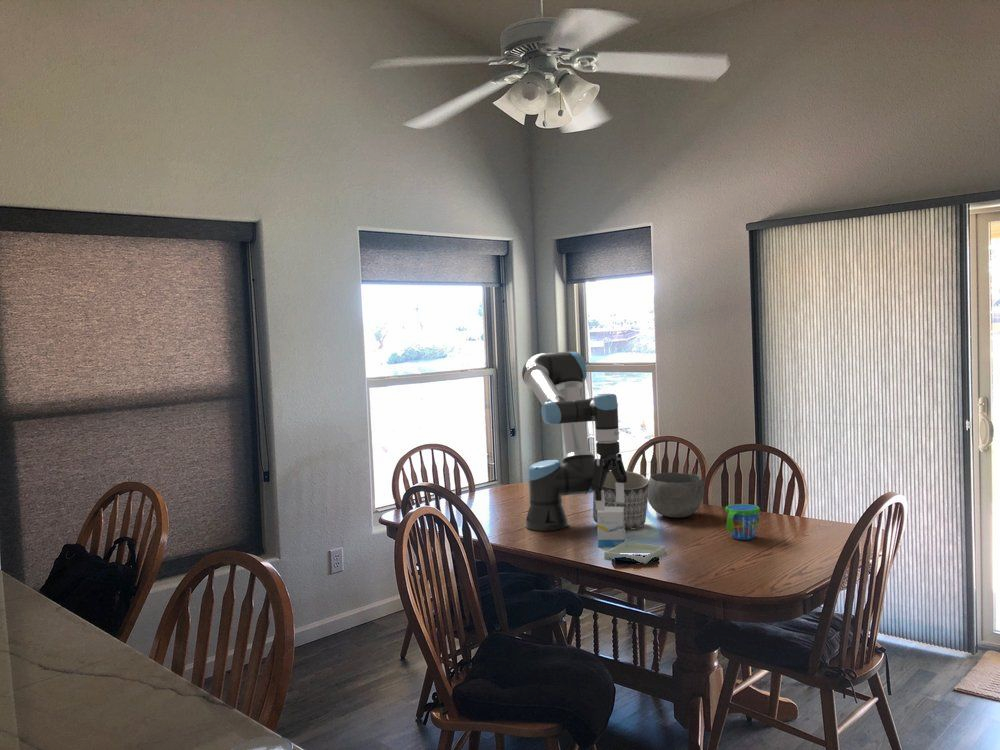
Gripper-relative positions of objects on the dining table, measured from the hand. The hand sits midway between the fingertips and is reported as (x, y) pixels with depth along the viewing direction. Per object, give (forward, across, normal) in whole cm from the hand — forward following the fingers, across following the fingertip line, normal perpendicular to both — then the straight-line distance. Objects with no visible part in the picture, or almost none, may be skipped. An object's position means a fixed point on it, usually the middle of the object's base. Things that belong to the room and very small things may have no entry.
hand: (610, 506), depth 269 cm
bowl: (+12, +44, -3) cm, 46 cm away
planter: (+11, +22, +9) cm, 27 cm away
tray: (+13, -9, -13) cm, 20 cm away
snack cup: (+13, +25, -35) cm, 45 cm away
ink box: (+13, 0, 0) cm, 13 cm away
